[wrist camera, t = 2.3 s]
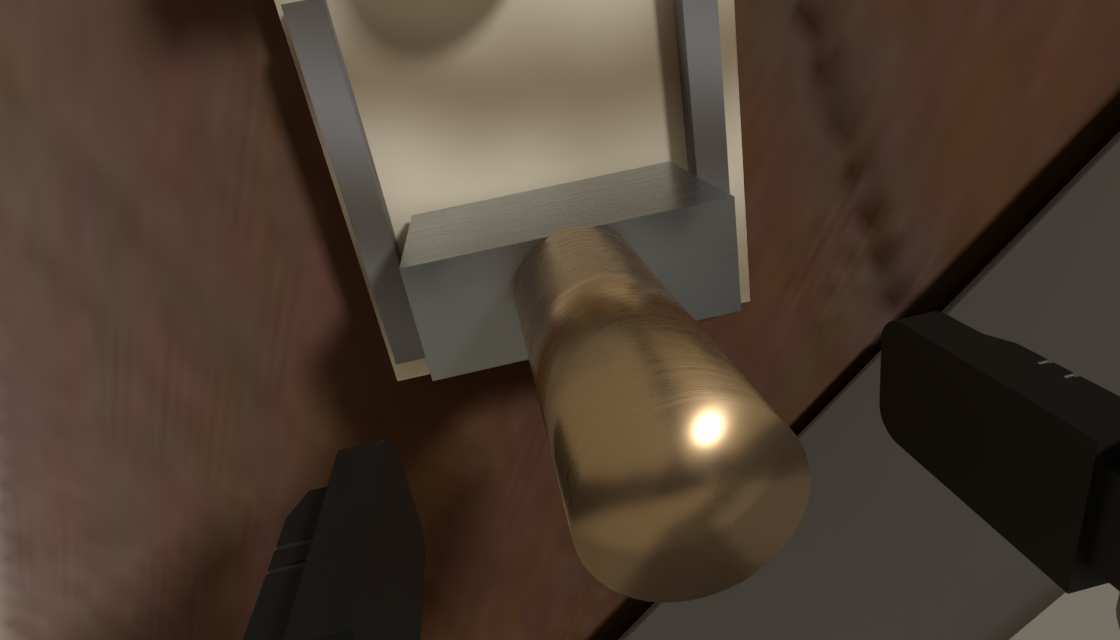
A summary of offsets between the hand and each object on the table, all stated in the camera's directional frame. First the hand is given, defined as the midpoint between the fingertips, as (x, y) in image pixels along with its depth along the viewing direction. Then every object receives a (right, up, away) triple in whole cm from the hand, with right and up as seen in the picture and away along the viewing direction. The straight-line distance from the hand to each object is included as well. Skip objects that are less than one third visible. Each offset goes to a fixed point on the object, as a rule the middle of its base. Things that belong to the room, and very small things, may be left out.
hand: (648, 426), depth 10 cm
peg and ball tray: (-3, +9, +9) cm, 13 cm away
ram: (-2, +4, +10) cm, 11 cm away
